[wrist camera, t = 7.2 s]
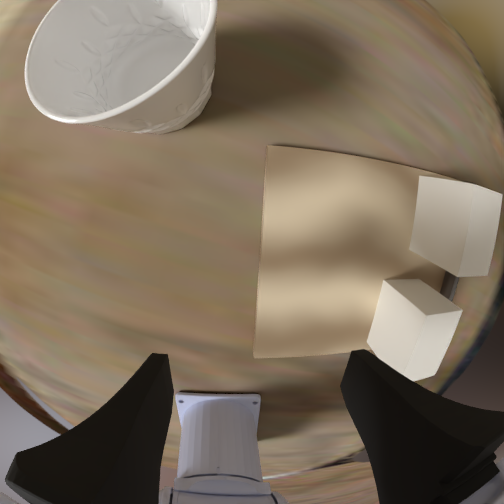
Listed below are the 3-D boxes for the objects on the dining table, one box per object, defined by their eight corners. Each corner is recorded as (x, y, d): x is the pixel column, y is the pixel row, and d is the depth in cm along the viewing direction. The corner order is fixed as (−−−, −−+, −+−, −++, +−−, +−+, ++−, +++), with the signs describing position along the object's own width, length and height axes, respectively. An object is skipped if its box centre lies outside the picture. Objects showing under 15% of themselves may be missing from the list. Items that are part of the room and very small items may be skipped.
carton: (419, 278, 20) (463, 310, 15) (401, 337, 22) (435, 374, 16) (383, 279, 20) (426, 315, 14) (366, 342, 22) (397, 385, 16)
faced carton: (451, 183, 18) (502, 194, 12) (441, 251, 20) (487, 275, 14) (419, 175, 18) (474, 184, 12) (409, 249, 19) (457, 277, 14)
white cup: (234, 49, 15) (243, -41, 5) (204, 152, 17) (177, 135, 7) (130, 38, 14) (72, -32, 4) (99, 136, 16) (3, 122, 6)
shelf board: (423, 335, 24) (434, 347, 21) (252, 352, 22) (255, 370, 20) (458, 180, 19) (476, 184, 17) (266, 146, 17) (272, 143, 15)
